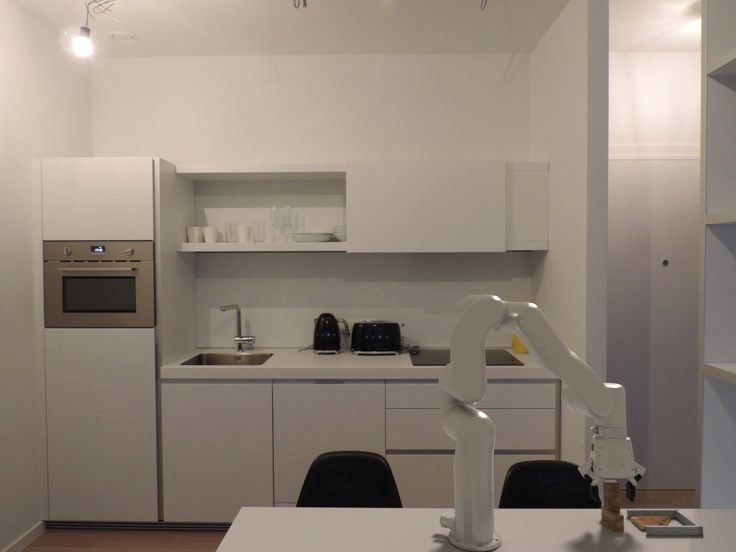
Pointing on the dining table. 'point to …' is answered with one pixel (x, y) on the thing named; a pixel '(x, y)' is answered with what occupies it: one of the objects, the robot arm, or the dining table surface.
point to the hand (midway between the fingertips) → (612, 499)
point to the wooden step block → (612, 506)
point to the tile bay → (689, 529)
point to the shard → (650, 521)
